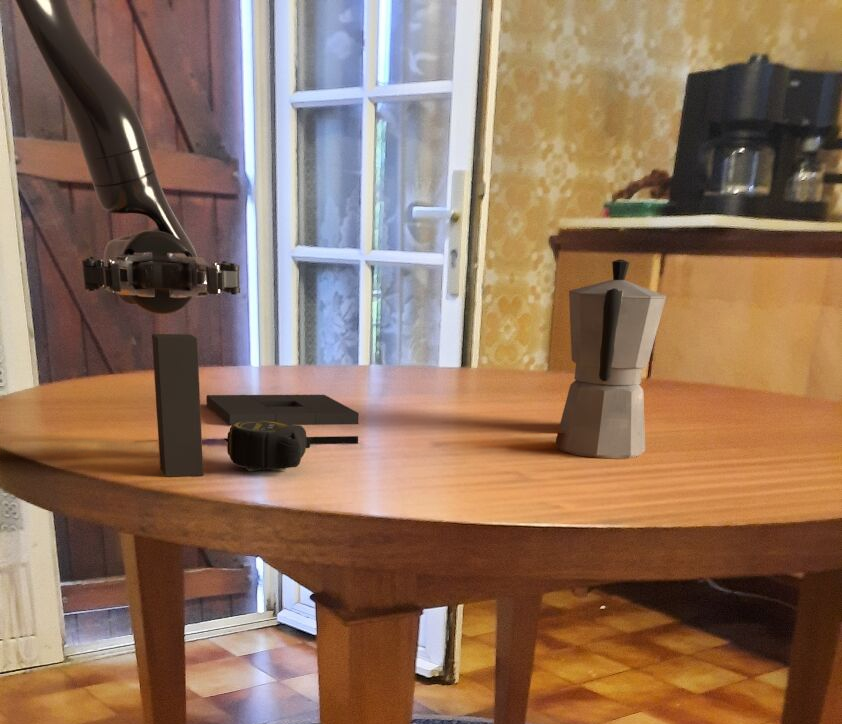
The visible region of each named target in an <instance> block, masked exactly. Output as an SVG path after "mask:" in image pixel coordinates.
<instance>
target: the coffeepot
mask: <svg viewBox="0 0 842 724" xmlns="http://www.w3.org/2000/svg"><path fill="white" fill-rule="evenodd" d="M611 265H612V267H611V268H612V279H611V280H607V281H602V282H599V283H593V284H590V285H586V286H583V287H578V288H574V289H571V290H568V300H569V302H568V303H569V325H570V326H569V327H570V328H569V329H570V352H571V354H570V355H571V361H572V362H573V363H574V364H575V370H574V381H573V382H572V383H570V384H569V388H568V392H567V396H566V400H565V404H564V408H563V411H562V416H561V418H560V423H559V427H558V429H559V430H560V431H562V432H557V435H556V438H555V442H554V445H555V447H556V448H557V449H558V450H559V451H561V452H563V453H566V454H570V455H573V456H574V455H575V456H580V457H587V458H596V459H597V458H598V459H631V458H637V457H640V456H641V455H642V454H643V453H645V452H646V430H645V429H646V428H645V426H646V425H645V403H644V401H645V399H644V395H645V394H644V389H643V387H642V385H640V384H641V383H642V375H643V368H645V367H647V366H648V365H649V362H650V358H651V354H652V351H653V348H654V344H655V340H656V336H657V333H658V329H659V325H660V321H661V317H662V314H663V310H664V306H665V303H666V299H667V295H664V294H662V293H660V292H658V291H657V292H656V291H654V290H651V289H649V288H646V287H643V286H641V285H638V284H635V283H632V282H630V281H628V280H626V276H627V273H628V269H629V266H630V261H627V260H626V259H622V258H621V259H620V258H618V259H616V260H613V261H612V262H611ZM639 455H640V456H639ZM636 456H637V457H636Z"/></svg>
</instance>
